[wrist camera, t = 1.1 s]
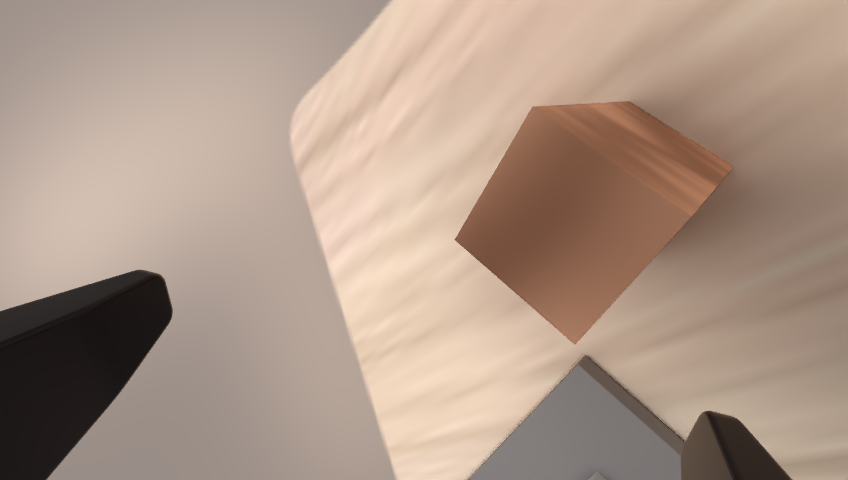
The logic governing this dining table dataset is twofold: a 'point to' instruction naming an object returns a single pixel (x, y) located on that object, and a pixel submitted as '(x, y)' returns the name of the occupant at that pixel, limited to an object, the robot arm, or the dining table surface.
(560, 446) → the socket
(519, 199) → the peg
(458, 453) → the dining table surface
